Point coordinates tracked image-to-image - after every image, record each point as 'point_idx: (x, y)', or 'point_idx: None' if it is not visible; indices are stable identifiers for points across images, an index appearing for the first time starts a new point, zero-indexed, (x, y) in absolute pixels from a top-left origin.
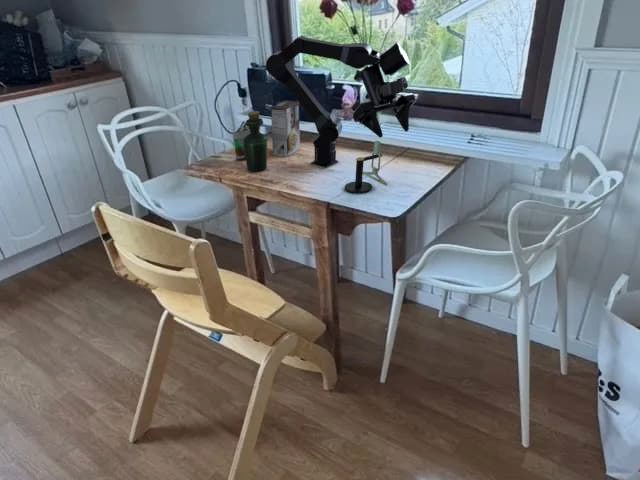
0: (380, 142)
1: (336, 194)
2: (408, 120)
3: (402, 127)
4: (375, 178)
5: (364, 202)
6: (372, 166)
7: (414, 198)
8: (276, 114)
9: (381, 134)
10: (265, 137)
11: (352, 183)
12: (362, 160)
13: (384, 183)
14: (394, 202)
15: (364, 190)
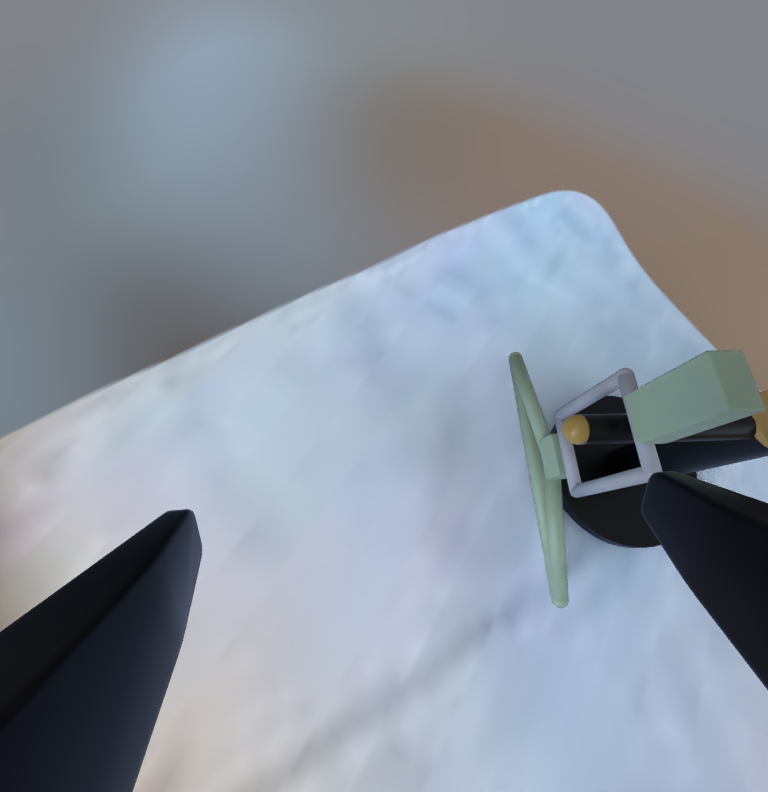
0: (703, 354)
1: (739, 463)
2: (15, 623)
3: (173, 669)
4: (538, 449)
5: (639, 319)
6: (580, 482)
7: (434, 245)
8: None
9: (687, 476)
10: None
11: (644, 522)
12: (761, 394)
13: (524, 363)
14: (526, 257)
15: (613, 401)
